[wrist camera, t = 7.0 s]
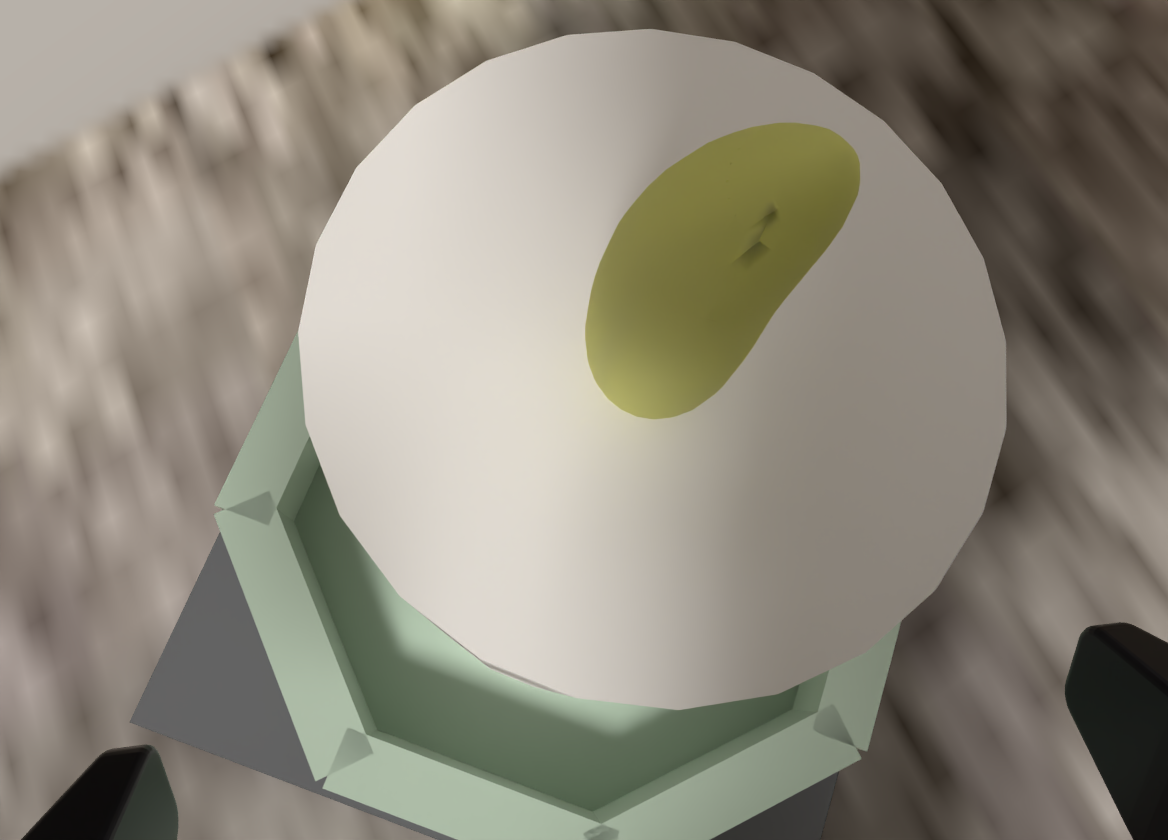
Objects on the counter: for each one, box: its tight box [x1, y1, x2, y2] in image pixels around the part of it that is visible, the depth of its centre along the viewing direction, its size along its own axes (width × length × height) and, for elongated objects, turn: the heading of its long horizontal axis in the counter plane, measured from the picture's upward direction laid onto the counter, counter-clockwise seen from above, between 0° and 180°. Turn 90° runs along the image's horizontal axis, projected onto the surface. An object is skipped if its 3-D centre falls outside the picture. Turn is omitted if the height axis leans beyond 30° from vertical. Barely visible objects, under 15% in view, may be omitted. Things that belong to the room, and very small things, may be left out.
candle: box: [298, 29, 1006, 710], centre depth 11 cm, size 6×6×15 cm
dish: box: [214, 332, 901, 840], centre depth 18 cm, size 12×12×2 cm
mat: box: [130, 532, 839, 840], centre depth 20 cm, size 13×13×1 cm
